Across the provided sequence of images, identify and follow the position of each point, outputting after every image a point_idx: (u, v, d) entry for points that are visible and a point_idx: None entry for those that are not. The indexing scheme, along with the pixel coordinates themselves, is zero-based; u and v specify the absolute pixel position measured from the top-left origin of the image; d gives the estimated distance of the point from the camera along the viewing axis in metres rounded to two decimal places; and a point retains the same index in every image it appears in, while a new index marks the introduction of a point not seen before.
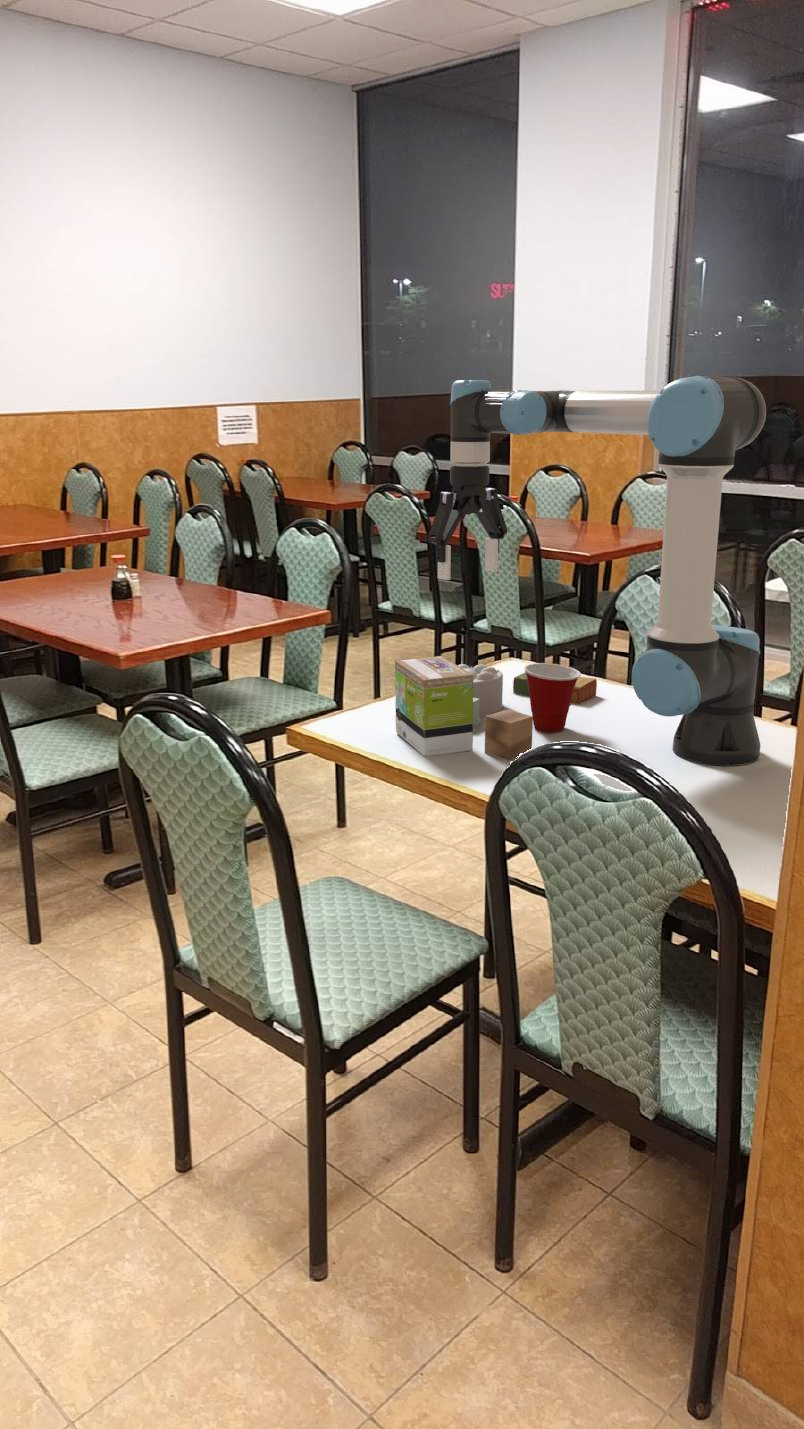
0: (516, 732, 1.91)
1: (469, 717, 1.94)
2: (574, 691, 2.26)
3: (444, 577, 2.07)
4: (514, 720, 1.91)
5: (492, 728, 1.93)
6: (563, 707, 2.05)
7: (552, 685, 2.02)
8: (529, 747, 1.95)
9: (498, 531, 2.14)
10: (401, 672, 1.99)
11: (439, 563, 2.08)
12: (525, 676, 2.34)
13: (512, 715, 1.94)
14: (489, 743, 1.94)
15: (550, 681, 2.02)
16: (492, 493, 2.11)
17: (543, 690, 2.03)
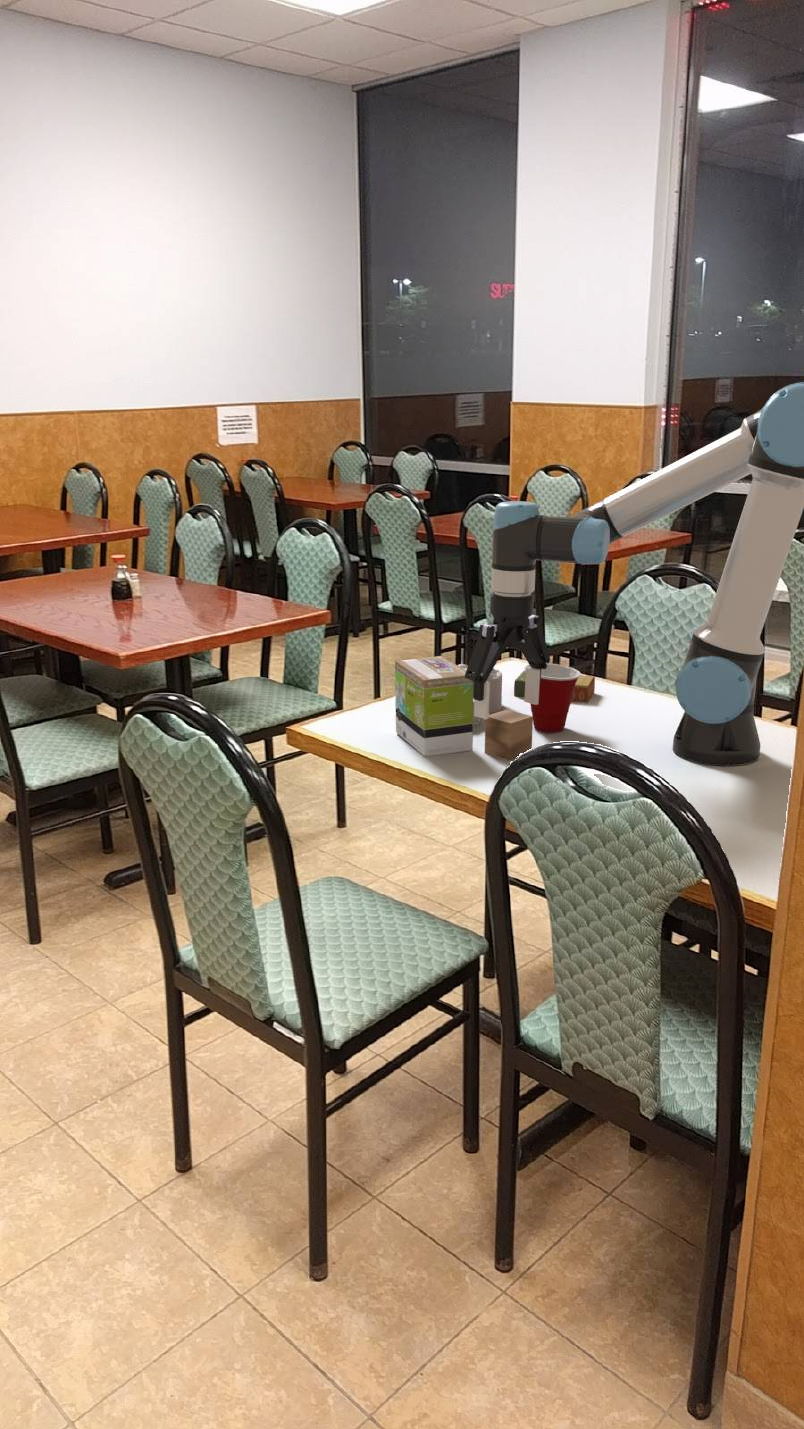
0: (516, 732, 1.91)
1: (469, 717, 1.94)
2: (581, 690, 2.27)
3: (481, 716, 1.88)
4: (514, 720, 1.91)
5: (492, 728, 1.93)
6: (563, 707, 2.05)
7: (552, 685, 2.02)
8: (529, 747, 1.95)
9: (540, 661, 1.95)
10: (401, 672, 1.99)
11: (476, 700, 1.88)
12: (525, 678, 2.32)
13: (512, 715, 1.94)
14: (489, 743, 1.94)
15: (550, 681, 2.02)
16: (535, 621, 1.92)
17: (543, 690, 2.03)
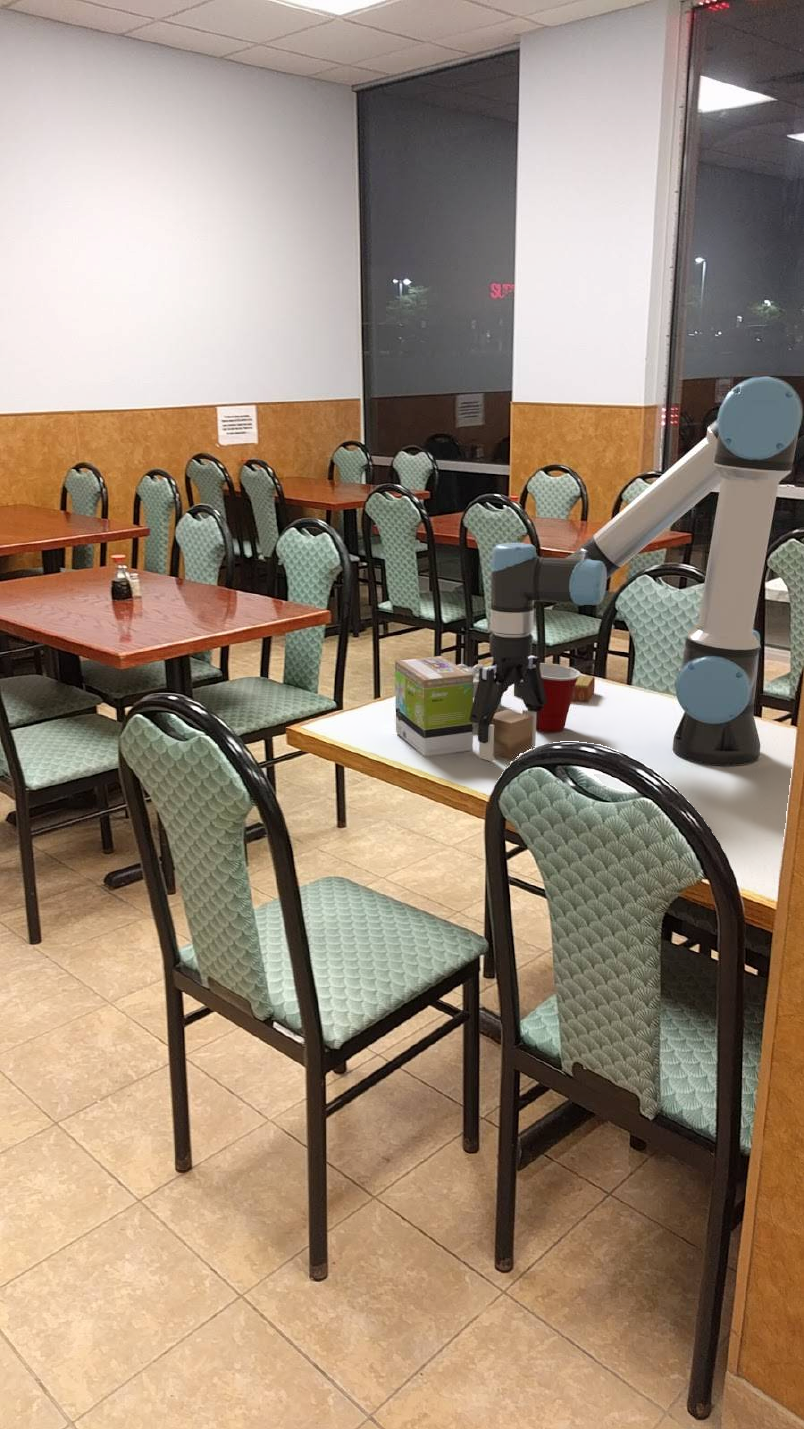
0: (516, 732, 1.91)
1: (469, 717, 1.94)
2: (581, 690, 2.27)
3: (486, 757, 1.91)
4: (514, 719, 1.91)
5: None
6: (563, 707, 2.05)
7: (552, 685, 2.02)
8: (529, 747, 1.95)
9: (537, 703, 1.97)
10: (402, 672, 1.99)
11: (481, 742, 1.91)
12: None
13: (512, 715, 1.94)
14: None
15: (550, 681, 2.02)
16: (534, 661, 1.94)
17: None
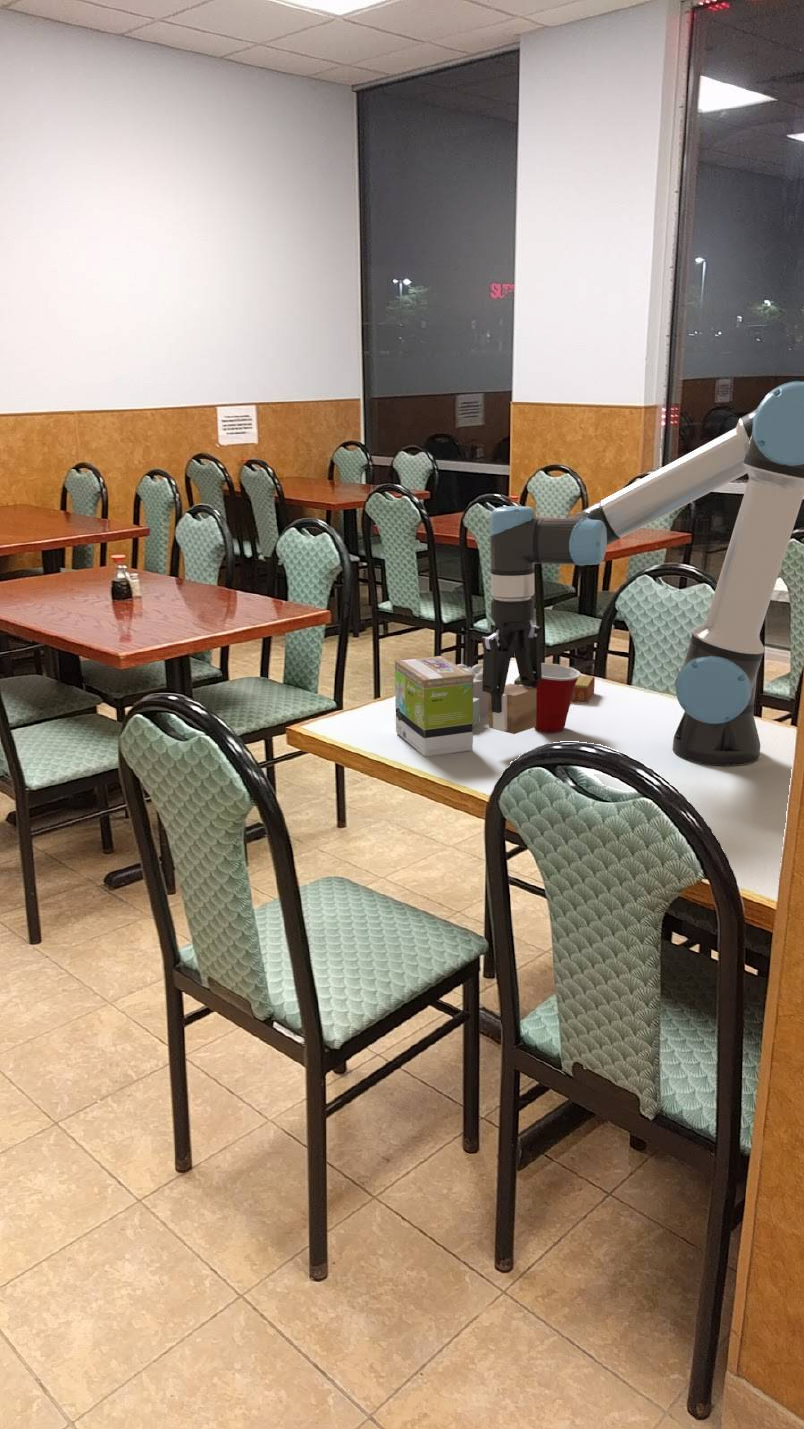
0: (519, 704, 1.89)
1: (469, 717, 1.94)
2: (581, 690, 2.27)
3: (500, 728, 1.91)
4: (517, 692, 1.90)
5: None
6: (563, 707, 2.05)
7: (552, 685, 2.02)
8: (533, 720, 1.93)
9: (533, 678, 1.94)
10: (401, 672, 1.99)
11: (494, 712, 1.91)
12: None
13: (516, 688, 1.93)
14: None
15: (550, 681, 2.02)
16: (536, 631, 1.92)
17: (543, 690, 2.03)
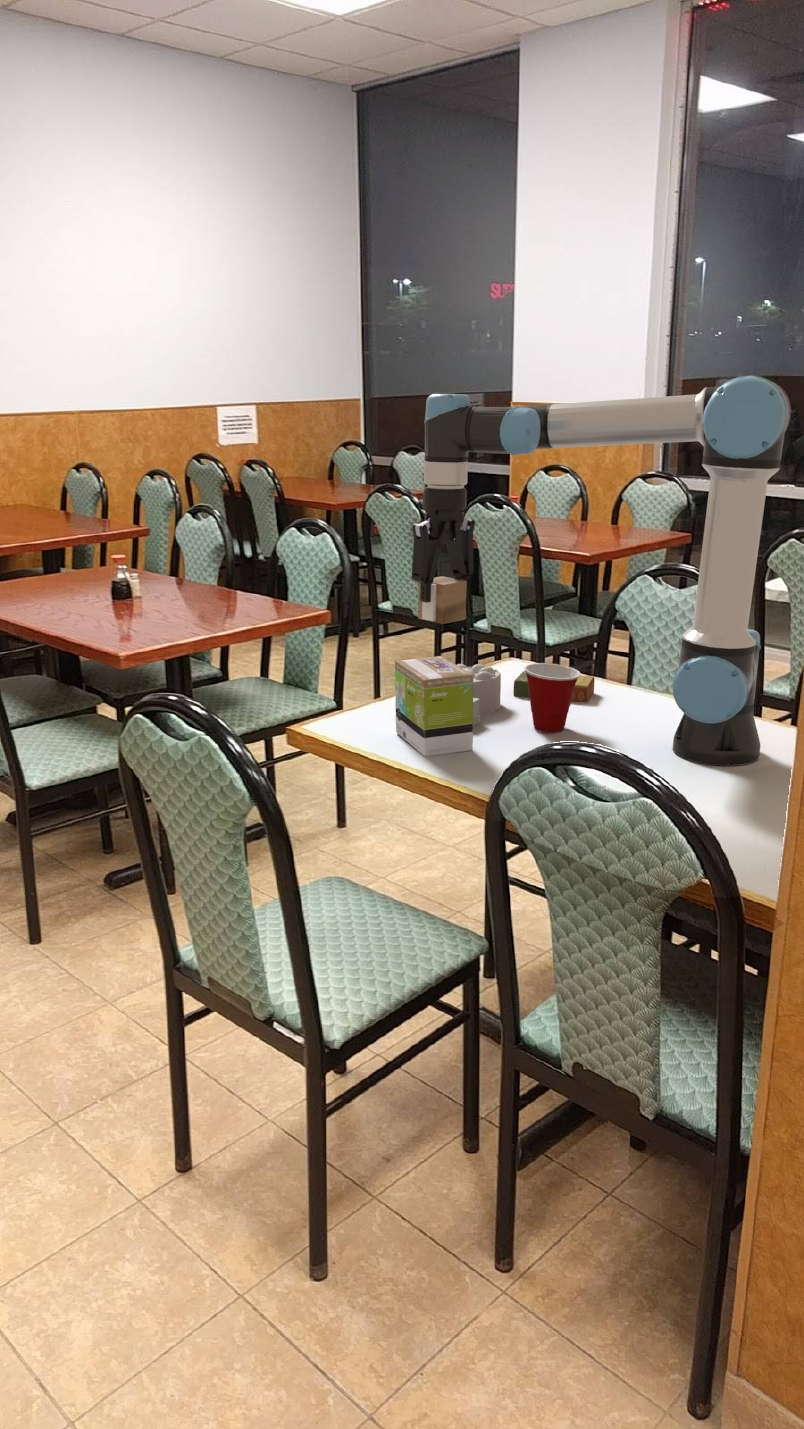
0: (448, 594, 1.90)
1: (469, 717, 1.94)
2: (581, 690, 2.26)
3: (429, 618, 1.91)
4: (447, 582, 1.90)
5: None
6: (563, 707, 2.05)
7: (552, 685, 2.02)
8: (463, 612, 1.94)
9: (464, 571, 1.94)
10: (401, 672, 1.99)
11: (424, 602, 1.92)
12: (525, 678, 2.32)
13: (446, 579, 1.93)
14: None
15: (550, 681, 2.02)
16: (469, 523, 1.93)
17: (543, 690, 2.03)
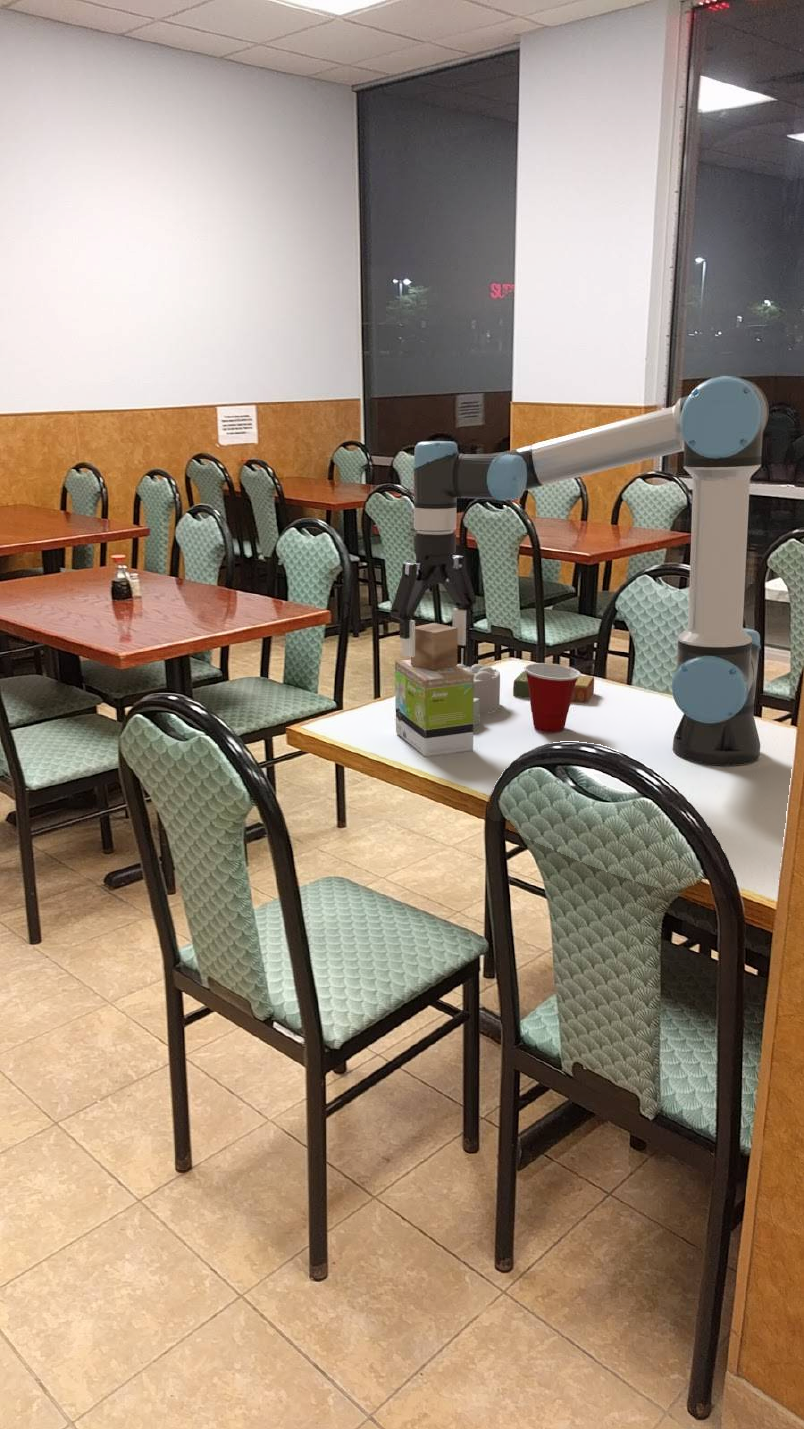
0: (440, 642, 1.93)
1: (469, 717, 1.94)
2: (580, 690, 2.26)
3: (408, 654, 1.92)
4: (438, 630, 1.94)
5: (417, 639, 1.95)
6: (563, 707, 2.05)
7: (552, 685, 2.02)
8: (454, 659, 1.97)
9: (466, 602, 1.99)
10: (402, 672, 1.99)
11: (403, 639, 1.92)
12: (524, 678, 2.32)
13: (438, 626, 1.96)
14: (415, 655, 1.96)
15: (550, 681, 2.02)
16: (460, 561, 1.96)
17: (543, 690, 2.03)
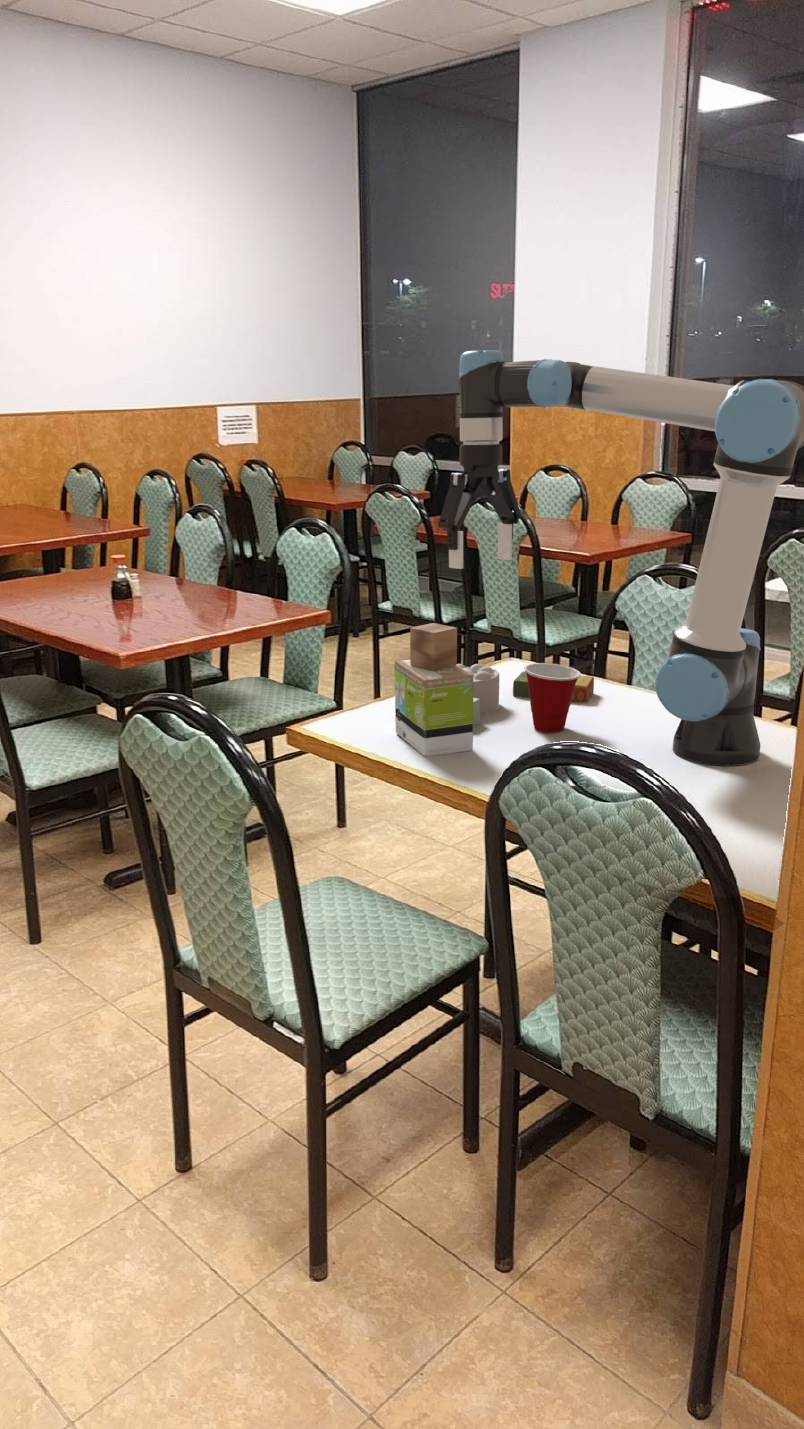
0: (439, 642, 1.93)
1: (469, 717, 1.94)
2: (580, 690, 2.26)
3: (456, 566, 1.91)
4: (438, 630, 1.94)
5: (416, 639, 1.95)
6: (563, 707, 2.05)
7: (552, 685, 2.02)
8: (454, 659, 1.97)
9: (511, 516, 1.98)
10: (401, 672, 1.99)
11: (450, 551, 1.91)
12: (524, 678, 2.32)
13: (437, 627, 1.96)
14: (414, 655, 1.96)
15: (550, 681, 2.02)
16: (505, 474, 1.95)
17: (543, 690, 2.03)
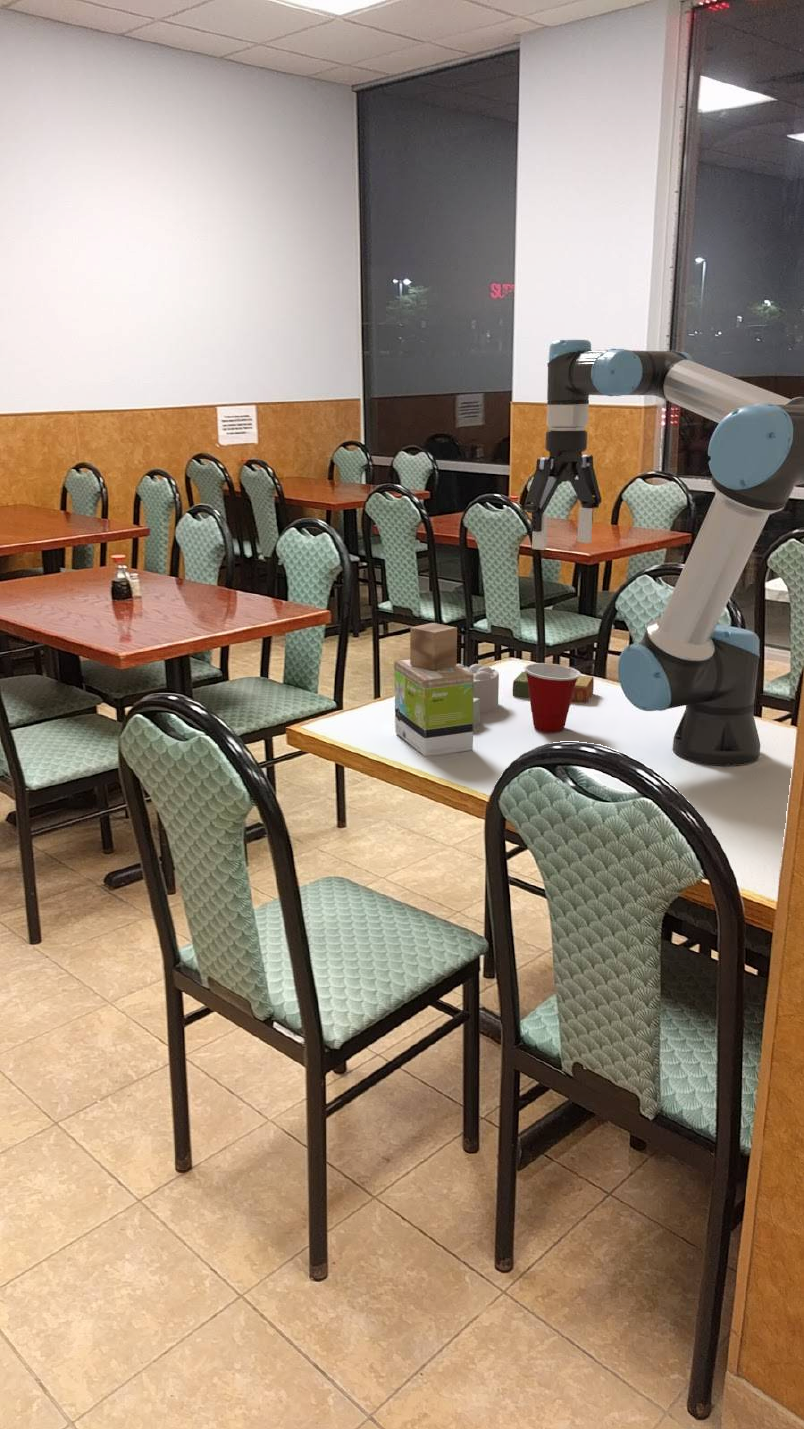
0: (440, 642, 1.93)
1: (469, 717, 1.95)
2: (580, 690, 2.26)
3: (539, 547, 1.98)
4: (438, 630, 1.93)
5: (416, 639, 1.95)
6: (563, 707, 2.05)
7: (552, 685, 2.02)
8: (454, 658, 1.97)
9: (593, 500, 2.05)
10: (401, 672, 1.99)
11: (534, 532, 1.99)
12: (524, 678, 2.32)
13: (437, 626, 1.96)
14: (414, 654, 1.96)
15: (550, 681, 2.02)
16: (588, 460, 2.02)
17: (543, 690, 2.03)
